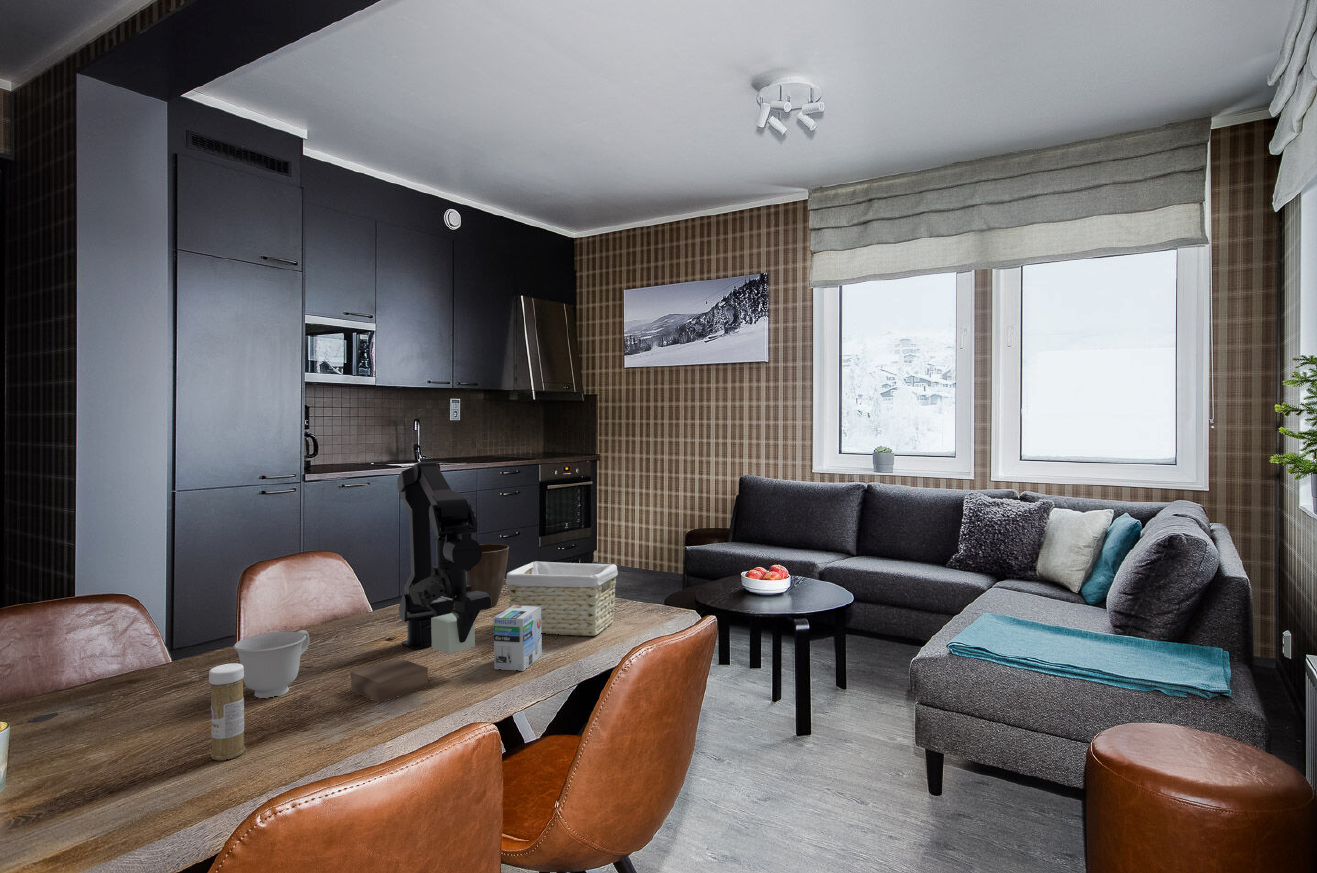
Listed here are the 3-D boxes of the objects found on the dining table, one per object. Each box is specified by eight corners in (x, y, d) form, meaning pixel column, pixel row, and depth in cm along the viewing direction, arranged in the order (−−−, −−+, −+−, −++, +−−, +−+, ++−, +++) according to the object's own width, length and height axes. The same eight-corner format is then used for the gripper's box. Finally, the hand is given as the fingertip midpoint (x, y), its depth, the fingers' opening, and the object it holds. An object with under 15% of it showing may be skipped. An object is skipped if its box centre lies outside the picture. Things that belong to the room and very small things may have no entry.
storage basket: (504, 634, 174) (502, 572, 173) (533, 616, 189) (532, 560, 189) (598, 640, 167) (597, 576, 167) (620, 621, 183) (619, 563, 183)
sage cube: (431, 648, 144) (431, 618, 144) (457, 640, 149) (457, 611, 149) (448, 653, 140) (448, 623, 140) (475, 646, 145) (474, 616, 145)
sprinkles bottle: (206, 756, 110) (204, 668, 110) (239, 745, 114) (236, 660, 114) (217, 764, 107) (215, 674, 107) (250, 753, 111) (248, 666, 111)
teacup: (332, 680, 143) (331, 629, 143) (269, 708, 129) (268, 652, 129) (285, 674, 147) (284, 625, 147) (219, 701, 133) (217, 647, 133)
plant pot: (445, 611, 195) (443, 552, 195) (468, 598, 210) (467, 543, 209) (497, 613, 192) (496, 553, 192) (517, 599, 207) (516, 543, 207)
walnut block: (351, 692, 137) (350, 671, 137) (399, 677, 145) (398, 658, 145) (379, 705, 131) (379, 682, 131) (428, 688, 139) (427, 667, 138)
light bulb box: (524, 672, 146) (523, 618, 146) (492, 670, 147) (491, 617, 147) (543, 655, 157) (542, 605, 156) (513, 653, 158) (512, 604, 158)
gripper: (389, 562, 145) (391, 640, 145) (441, 573, 132) (443, 659, 132) (439, 554, 153) (441, 628, 153) (492, 564, 141) (494, 644, 141)
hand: (453, 639), depth 145 cm, fingers closed on sage cube, 6 cm apart
